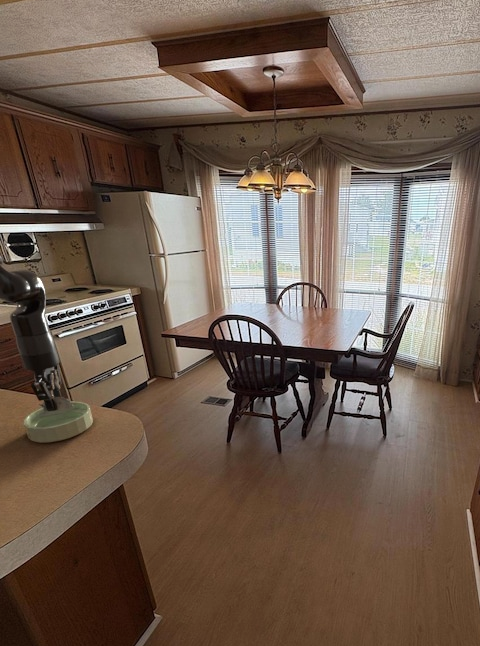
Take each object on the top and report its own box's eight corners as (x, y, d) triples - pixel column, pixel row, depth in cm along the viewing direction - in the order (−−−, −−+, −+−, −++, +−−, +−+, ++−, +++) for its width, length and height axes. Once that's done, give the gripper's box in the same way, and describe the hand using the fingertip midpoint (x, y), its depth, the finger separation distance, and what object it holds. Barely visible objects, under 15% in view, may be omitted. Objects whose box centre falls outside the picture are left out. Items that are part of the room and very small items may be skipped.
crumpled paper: (75, 412, 98) (69, 390, 95) (39, 420, 94) (32, 397, 91) (74, 406, 101) (68, 385, 99) (40, 413, 97) (32, 391, 94)
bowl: (19, 448, 90) (13, 432, 88) (39, 420, 103) (34, 405, 101) (87, 438, 96) (82, 423, 94) (98, 412, 108) (94, 398, 107)
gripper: (30, 342, 95) (47, 396, 101) (8, 360, 82) (29, 420, 89) (62, 340, 97) (77, 393, 104) (46, 357, 85) (63, 416, 92)
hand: (55, 405), depth 96 cm, fingers closed on crumpled paper, 4 cm apart
